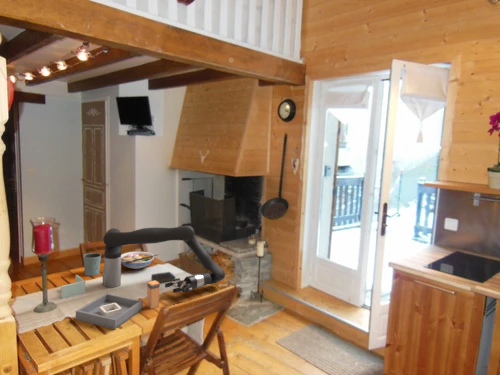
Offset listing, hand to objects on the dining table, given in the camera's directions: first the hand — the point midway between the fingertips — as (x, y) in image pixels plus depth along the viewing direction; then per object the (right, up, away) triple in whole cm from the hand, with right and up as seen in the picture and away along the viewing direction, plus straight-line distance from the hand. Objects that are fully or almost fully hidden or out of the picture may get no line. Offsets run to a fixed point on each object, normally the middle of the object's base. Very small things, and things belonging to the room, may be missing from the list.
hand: (169, 288), depth 198 cm
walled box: (-25, -8, -17) cm, 31 cm away
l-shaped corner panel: (-56, -4, +5) cm, 57 cm away
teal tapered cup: (-56, 0, +33) cm, 65 cm away
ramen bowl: (-33, +1, +48) cm, 58 cm away
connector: (-7, -8, -6) cm, 12 cm away
